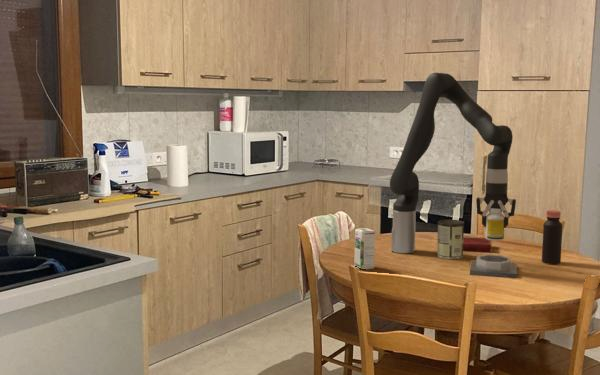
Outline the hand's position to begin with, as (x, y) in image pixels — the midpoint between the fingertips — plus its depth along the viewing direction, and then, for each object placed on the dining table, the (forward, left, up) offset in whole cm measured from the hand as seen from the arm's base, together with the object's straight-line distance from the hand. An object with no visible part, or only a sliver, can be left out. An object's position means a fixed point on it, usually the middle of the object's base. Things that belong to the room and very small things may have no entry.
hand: (495, 226), depth 232 cm
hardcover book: (-12, +35, -17) cm, 40 cm away
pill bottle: (0, 0, -5) cm, 5 cm away
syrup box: (-46, -10, -17) cm, 50 cm away
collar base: (0, 0, -16) cm, 16 cm away
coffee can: (-17, +18, -17) cm, 30 cm away
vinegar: (+21, +19, -17) cm, 33 cm away
